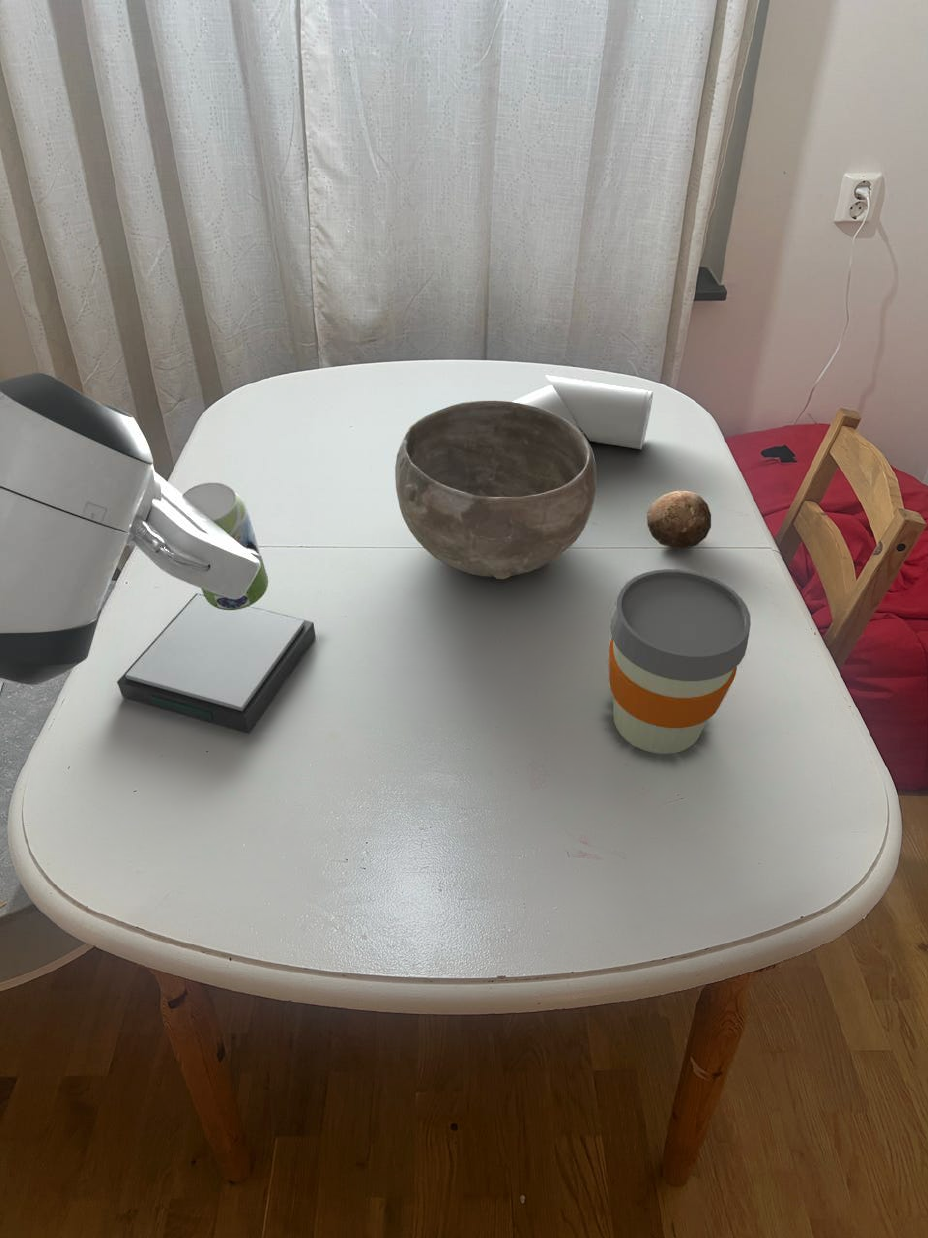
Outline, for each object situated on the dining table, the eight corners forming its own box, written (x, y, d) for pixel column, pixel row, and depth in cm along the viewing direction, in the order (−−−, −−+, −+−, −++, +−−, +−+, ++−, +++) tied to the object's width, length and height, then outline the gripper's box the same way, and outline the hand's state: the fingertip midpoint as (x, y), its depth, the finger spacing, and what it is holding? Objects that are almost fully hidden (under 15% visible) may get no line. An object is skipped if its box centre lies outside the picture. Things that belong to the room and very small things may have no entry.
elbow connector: (577, 391, 138) (487, 432, 128) (595, 334, 129) (500, 373, 119) (658, 454, 131) (570, 503, 121) (683, 398, 123) (590, 446, 113)
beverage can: (276, 576, 83) (257, 469, 75) (258, 627, 77) (236, 518, 69) (212, 573, 83) (186, 467, 75) (190, 624, 78) (160, 515, 70)
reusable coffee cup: (626, 781, 82) (649, 671, 72) (577, 689, 91) (592, 580, 80) (742, 752, 84) (781, 643, 74) (683, 665, 93) (711, 557, 83)
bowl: (479, 639, 96) (481, 531, 86) (358, 539, 110) (348, 436, 100) (625, 555, 108) (642, 452, 98) (498, 474, 121) (502, 376, 111)
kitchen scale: (122, 698, 89) (114, 678, 87) (200, 608, 100) (195, 588, 98) (248, 734, 86) (243, 715, 84) (316, 637, 96) (313, 617, 94)
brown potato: (664, 487, 113) (677, 470, 107) (713, 522, 113) (729, 508, 106) (629, 532, 112) (640, 518, 106) (679, 569, 111) (692, 557, 105)
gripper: (186, 517, 58) (319, 569, 70) (63, 408, 70) (195, 468, 81) (142, 594, 59) (280, 633, 71) (27, 474, 70) (162, 525, 82)
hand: (234, 544), depth 76 cm, fingers closed on beverage can, 5 cm apart
